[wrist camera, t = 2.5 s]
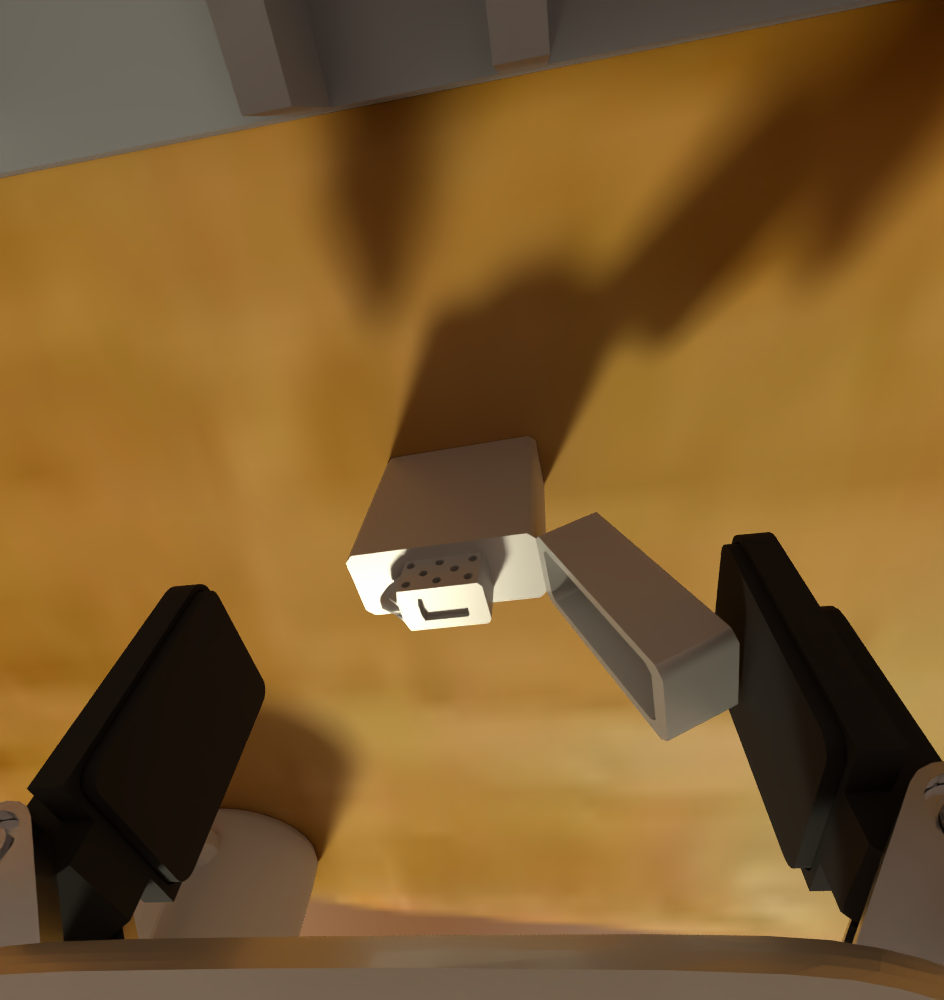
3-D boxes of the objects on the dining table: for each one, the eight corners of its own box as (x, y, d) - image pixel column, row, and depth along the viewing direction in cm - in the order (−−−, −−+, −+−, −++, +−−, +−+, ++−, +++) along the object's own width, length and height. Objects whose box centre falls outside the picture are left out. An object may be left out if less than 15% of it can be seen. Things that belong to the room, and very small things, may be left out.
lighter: (403, 510, 17) (318, 767, 10) (385, 458, 16) (280, 703, 9) (656, 474, 15) (748, 742, 9) (651, 415, 15) (752, 666, 8)
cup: (214, 878, 32) (117, 1111, 24) (124, 772, 26) (-36, 1029, 19) (339, 879, 30) (277, 1125, 23) (270, 768, 25) (161, 1042, 18)
